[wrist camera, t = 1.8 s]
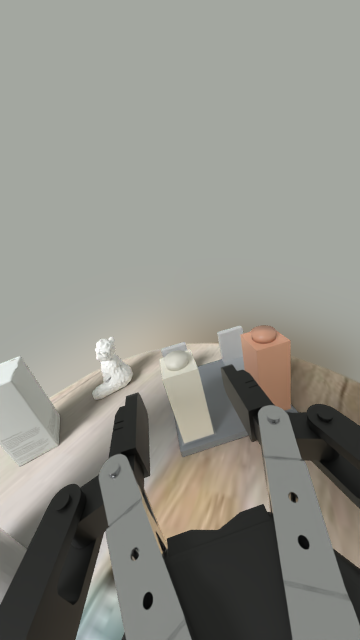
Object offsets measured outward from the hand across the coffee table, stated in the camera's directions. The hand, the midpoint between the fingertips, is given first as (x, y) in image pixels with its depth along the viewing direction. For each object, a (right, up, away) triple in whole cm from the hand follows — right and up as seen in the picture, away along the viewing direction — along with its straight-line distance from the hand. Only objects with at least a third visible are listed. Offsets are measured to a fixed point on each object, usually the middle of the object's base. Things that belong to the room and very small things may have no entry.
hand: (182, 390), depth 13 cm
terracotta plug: (+14, -9, +19) cm, 25 cm away
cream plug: (+2, -12, +19) cm, 22 cm away
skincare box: (-26, -18, +25) cm, 40 cm away
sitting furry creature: (-15, -11, +35) cm, 39 cm away
